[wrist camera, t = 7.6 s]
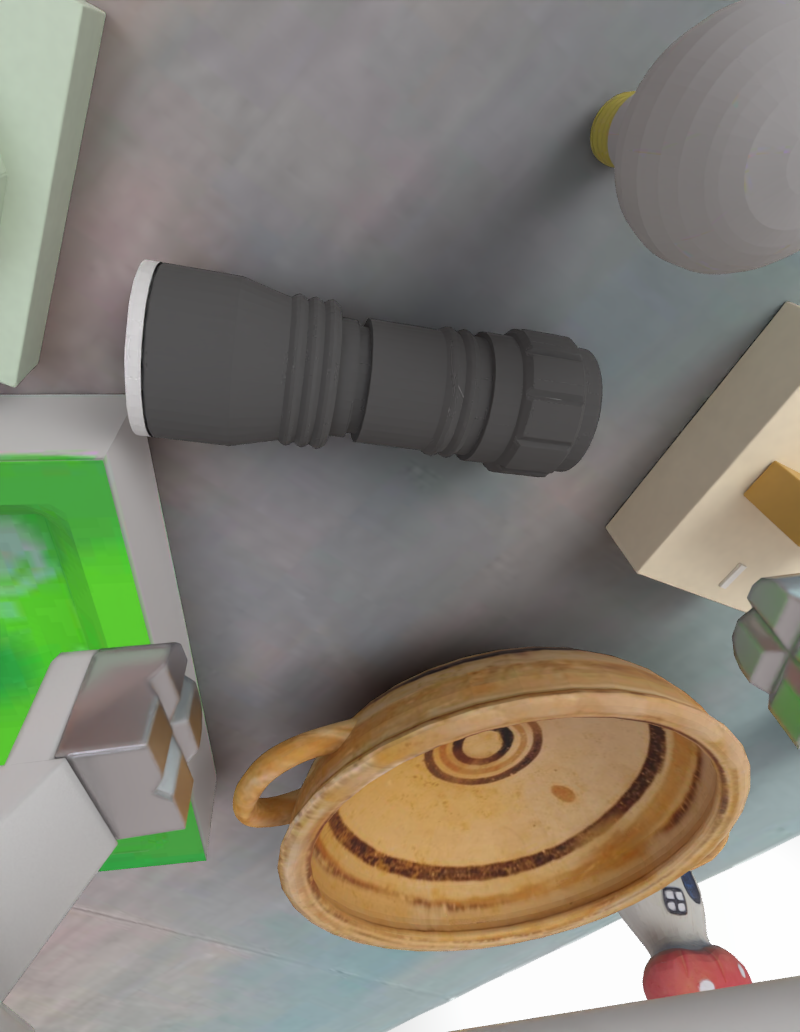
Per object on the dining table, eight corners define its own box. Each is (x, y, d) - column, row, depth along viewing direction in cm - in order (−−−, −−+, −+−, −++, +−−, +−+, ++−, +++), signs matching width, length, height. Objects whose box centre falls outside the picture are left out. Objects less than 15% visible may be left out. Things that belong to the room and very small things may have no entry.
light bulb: (506, 90, 19) (656, 92, 11) (672, -19, 18) (974, -107, 10) (564, 250, 22) (715, 346, 14) (709, 165, 21) (963, 214, 13)
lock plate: (786, 300, 24) (853, 330, 21) (918, 385, 27) (993, 421, 24) (604, 527, 30) (637, 576, 27) (731, 576, 33) (773, 624, 30)
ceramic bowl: (187, 798, 38) (163, 944, 32) (331, 495, 27) (341, 626, 20) (565, 845, 48) (605, 962, 42) (788, 640, 37) (891, 758, 30)
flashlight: (577, 318, 24) (640, 372, 19) (532, 441, 27) (578, 512, 22) (157, 242, 20) (118, 286, 16) (159, 393, 23) (127, 465, 19)
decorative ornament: (687, 839, 51) (808, 1077, 39) (615, 870, 52) (710, 1108, 40) (649, 796, 46) (775, 1054, 34) (572, 831, 47) (665, 1089, 35)
